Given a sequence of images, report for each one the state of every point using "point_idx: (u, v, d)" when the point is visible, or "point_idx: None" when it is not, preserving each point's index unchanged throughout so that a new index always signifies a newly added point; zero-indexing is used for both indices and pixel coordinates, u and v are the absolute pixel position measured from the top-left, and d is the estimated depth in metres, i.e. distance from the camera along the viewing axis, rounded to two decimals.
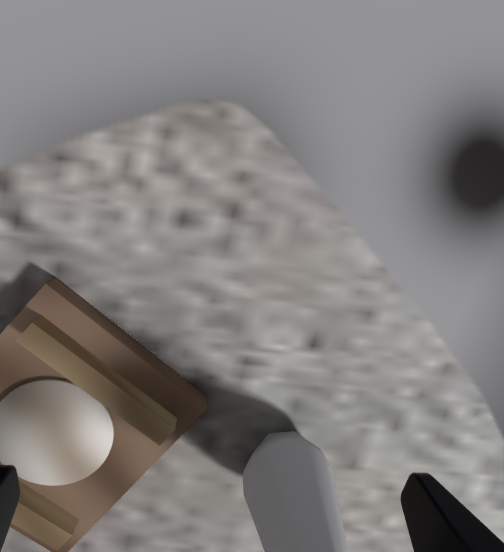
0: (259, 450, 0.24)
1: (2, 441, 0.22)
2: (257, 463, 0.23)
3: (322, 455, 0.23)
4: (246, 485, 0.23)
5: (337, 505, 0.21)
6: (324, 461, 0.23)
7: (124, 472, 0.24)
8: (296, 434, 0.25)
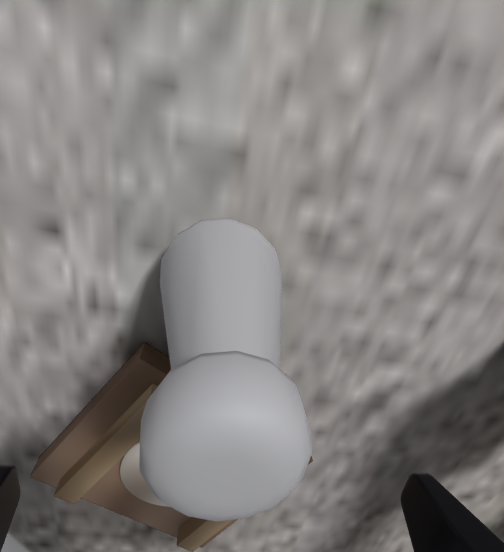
0: None
1: None
2: None
3: (175, 241, 0.17)
4: None
5: (198, 260, 0.14)
6: (177, 243, 0.16)
7: None
8: None
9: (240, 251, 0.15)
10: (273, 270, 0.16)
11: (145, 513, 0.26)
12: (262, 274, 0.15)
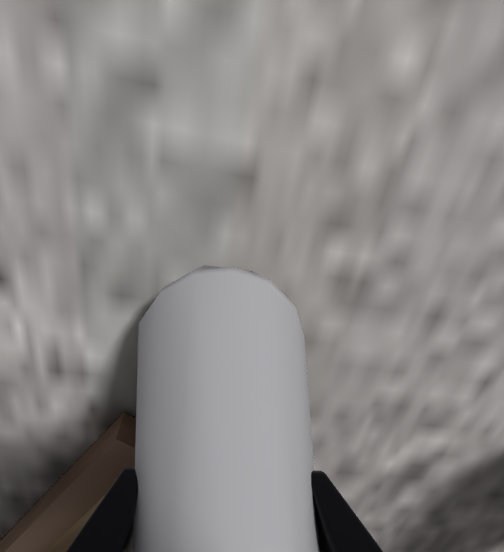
0: None
1: None
2: None
3: (157, 301, 0.12)
4: None
5: (187, 346, 0.09)
6: (159, 306, 0.11)
7: None
8: None
9: (249, 326, 0.10)
10: (296, 348, 0.11)
11: None
12: (283, 363, 0.10)
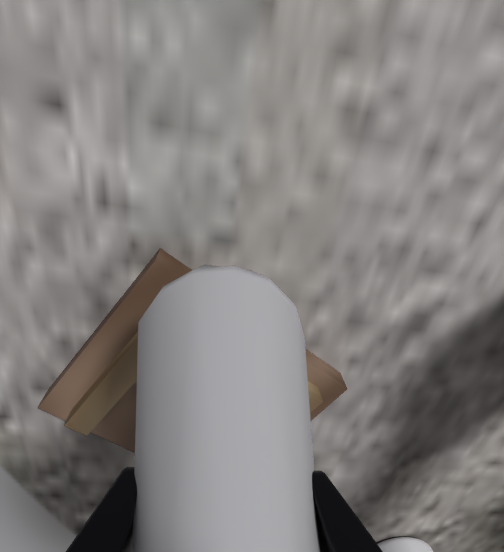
0: None
1: None
2: None
3: (156, 300, 0.12)
4: None
5: (187, 345, 0.09)
6: (159, 305, 0.11)
7: None
8: None
9: (249, 324, 0.10)
10: (296, 347, 0.11)
11: None
12: (283, 362, 0.10)
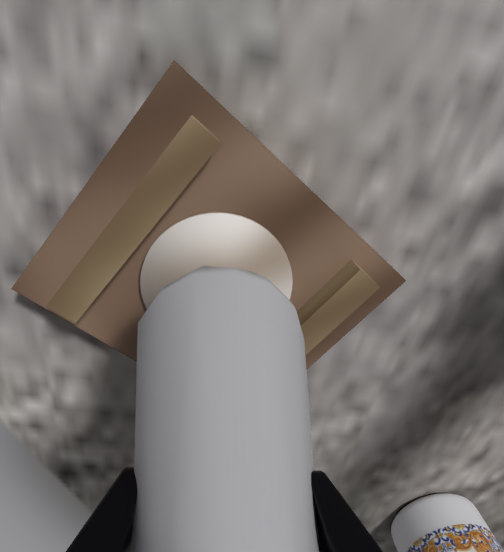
0: None
1: None
2: None
3: (156, 301, 0.12)
4: None
5: (186, 346, 0.09)
6: (158, 306, 0.11)
7: (284, 198, 0.16)
8: None
9: (248, 326, 0.10)
10: (296, 348, 0.11)
11: None
12: (282, 363, 0.10)
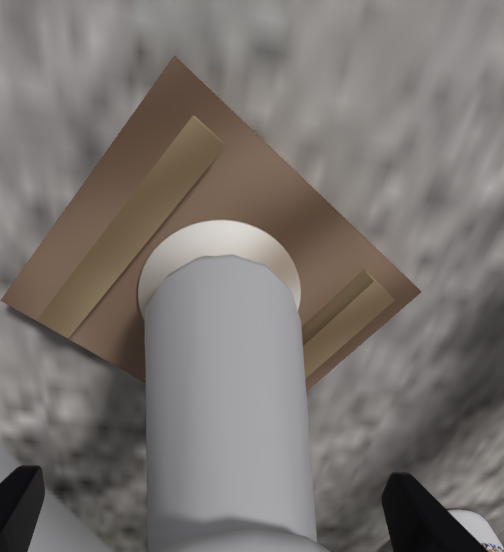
0: None
1: None
2: None
3: (161, 287, 0.13)
4: None
5: (191, 324, 0.10)
6: (164, 291, 0.12)
7: (293, 205, 0.15)
8: None
9: (247, 306, 0.11)
10: (292, 327, 0.12)
11: None
12: (279, 338, 0.11)
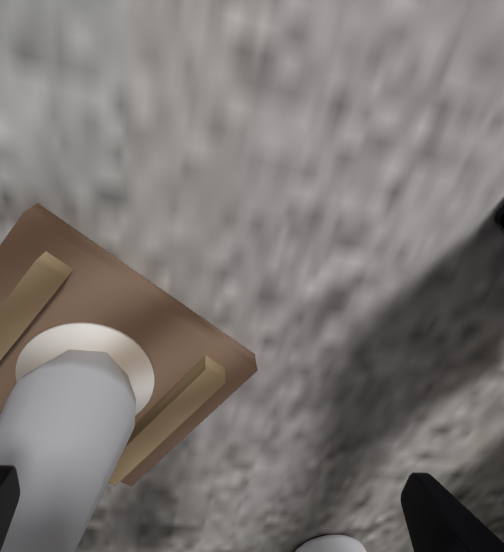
0: None
1: None
2: None
3: (14, 388, 0.16)
4: None
5: (13, 432, 0.14)
6: (13, 393, 0.16)
7: (137, 310, 0.19)
8: None
9: (63, 414, 0.15)
10: (106, 424, 0.16)
11: None
12: (82, 441, 0.14)
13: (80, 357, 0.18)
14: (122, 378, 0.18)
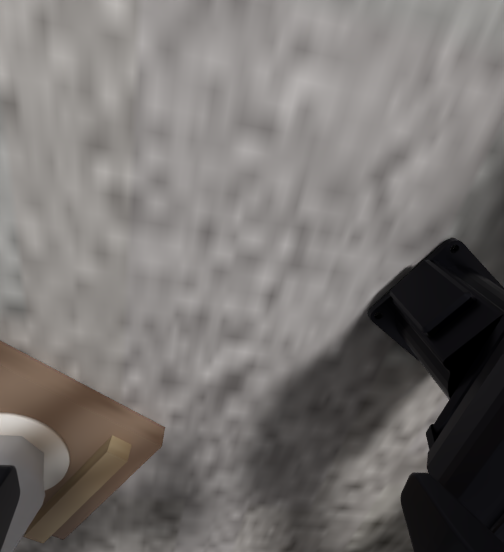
0: None
1: None
2: None
3: None
4: None
5: None
6: None
7: (45, 402, 0.22)
8: None
9: None
10: None
11: None
12: None
13: None
14: (28, 464, 0.21)
